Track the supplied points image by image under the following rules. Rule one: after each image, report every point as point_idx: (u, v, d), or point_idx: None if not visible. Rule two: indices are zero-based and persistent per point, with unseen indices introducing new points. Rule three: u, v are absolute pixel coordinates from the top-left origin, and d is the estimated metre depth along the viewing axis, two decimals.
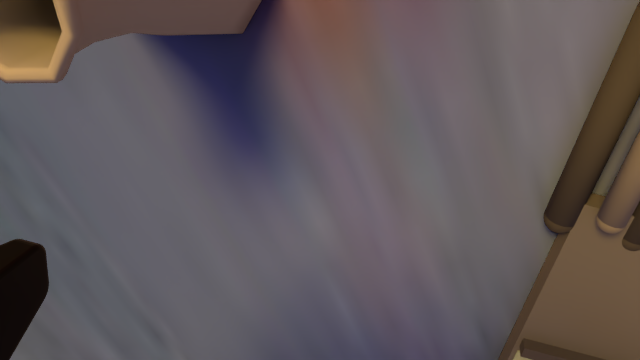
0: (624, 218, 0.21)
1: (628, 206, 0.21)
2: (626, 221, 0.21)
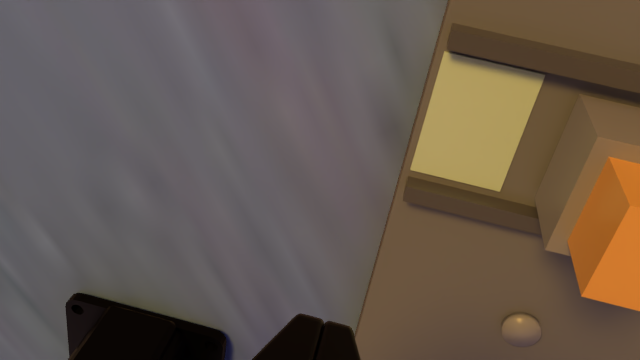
0: None
1: None
2: None
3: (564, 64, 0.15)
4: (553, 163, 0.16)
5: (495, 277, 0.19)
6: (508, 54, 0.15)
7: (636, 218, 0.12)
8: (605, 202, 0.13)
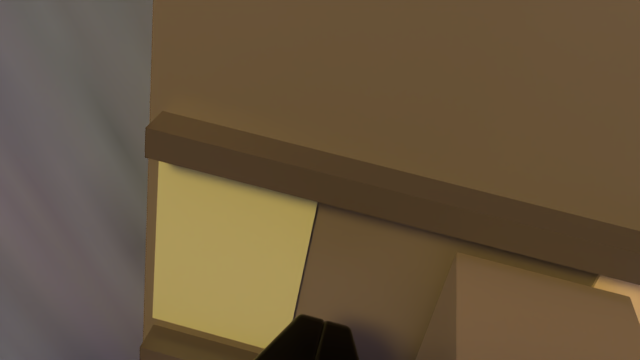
0: None
1: None
2: None
3: (331, 188, 0.09)
4: (422, 352, 0.10)
5: None
6: (242, 169, 0.09)
7: None
8: None
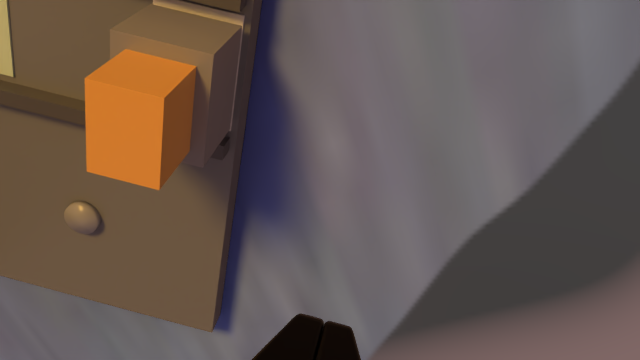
0: None
1: None
2: None
3: None
4: None
5: (45, 165, 0.21)
6: None
7: (94, 90, 0.13)
8: None
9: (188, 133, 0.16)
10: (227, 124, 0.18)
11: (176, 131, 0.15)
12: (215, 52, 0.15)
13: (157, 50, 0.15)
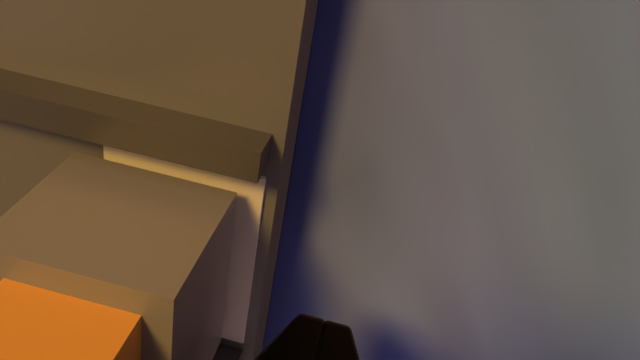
0: None
1: None
2: None
3: None
4: None
5: None
6: None
7: None
8: None
9: None
10: (215, 342, 0.10)
11: None
12: (178, 292, 0.07)
13: (63, 284, 0.07)
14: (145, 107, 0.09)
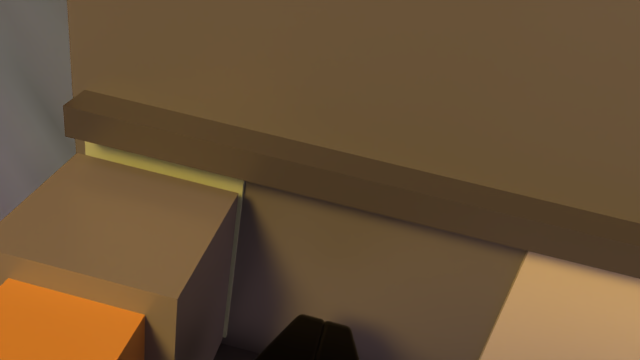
0: None
1: None
2: None
3: (250, 165, 0.09)
4: None
5: None
6: (160, 147, 0.09)
7: None
8: None
9: None
10: (217, 341, 0.10)
11: None
12: (181, 291, 0.07)
13: (67, 284, 0.07)
14: (603, 219, 0.08)
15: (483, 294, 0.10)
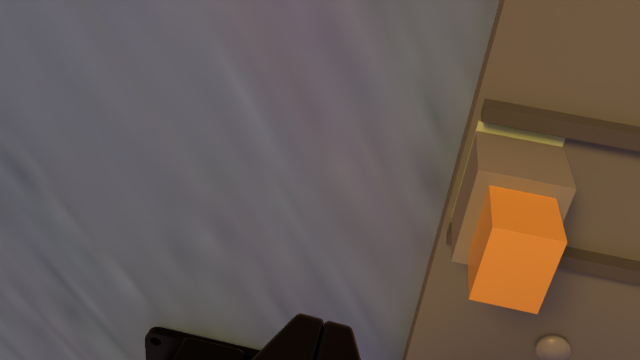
0: None
1: None
2: None
3: (581, 131, 0.18)
4: (461, 187, 0.19)
5: None
6: (534, 124, 0.18)
7: (499, 236, 0.15)
8: (484, 223, 0.16)
9: None
10: None
11: None
12: (575, 186, 0.16)
13: (520, 185, 0.17)
14: None
15: None
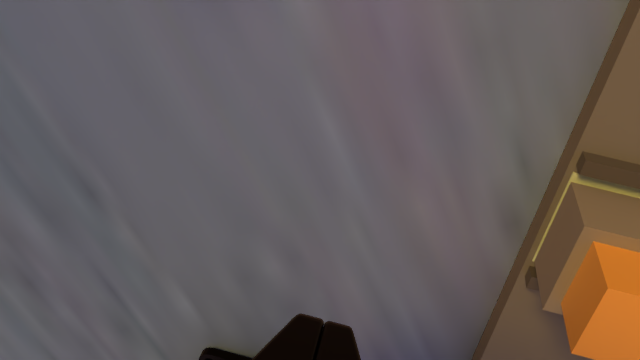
0: None
1: None
2: None
3: None
4: (549, 235, 0.20)
5: None
6: (632, 180, 0.18)
7: (613, 297, 0.15)
8: (590, 279, 0.17)
9: None
10: None
11: None
12: None
13: (625, 243, 0.17)
14: None
15: None
